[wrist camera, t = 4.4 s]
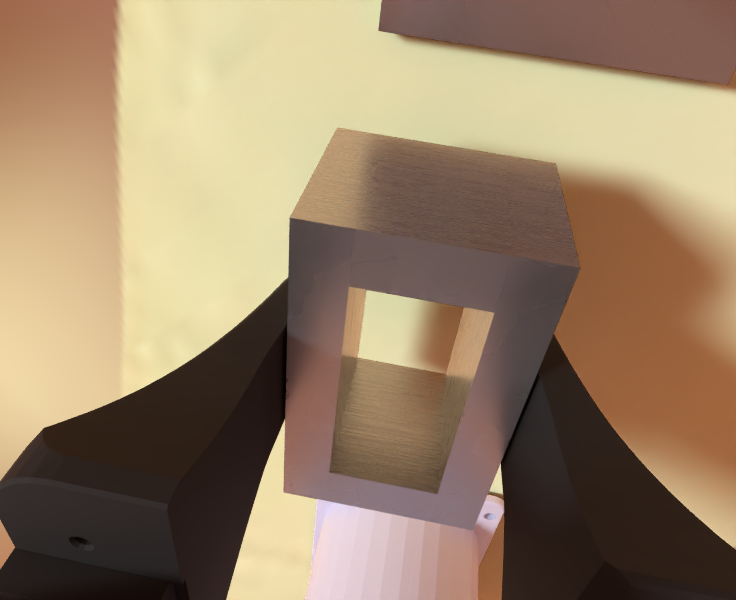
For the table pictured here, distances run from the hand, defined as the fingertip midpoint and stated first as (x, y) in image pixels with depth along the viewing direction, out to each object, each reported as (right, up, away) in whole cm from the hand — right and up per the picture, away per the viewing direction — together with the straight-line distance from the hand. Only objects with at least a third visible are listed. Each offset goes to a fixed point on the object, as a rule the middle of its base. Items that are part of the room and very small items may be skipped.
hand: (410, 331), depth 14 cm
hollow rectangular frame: (0, +1, +1) cm, 2 cm away
